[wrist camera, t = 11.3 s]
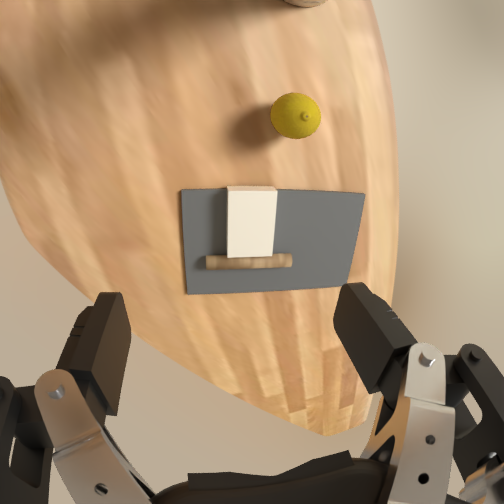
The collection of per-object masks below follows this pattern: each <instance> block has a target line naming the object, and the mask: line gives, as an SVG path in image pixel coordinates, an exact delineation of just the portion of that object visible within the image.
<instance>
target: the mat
mask: <svg viewBox="0 0 504 504" xmlns="http://www.w3.org/2000/svg"><path fill="white" fill-rule="evenodd" d="M276 190H277V191H278V192H277V205H276V218H275V230H274V241H273V253H272V254H278V253H291V255H292V266H291V267H279V268H253V269H224V270H206V256H207V255H227V251H226V212H227V189H182V190H181V193H182V220H183V239H184V255H185V269H186V281H187V293H188V295H189V294H221V293H244V292H264V291H282V290H298V289H312V288H326V287H338V286H343V284H346V283H347V279H348V275H349V271H350V267H351V263H352V259H353V254H354V250H355V245H356V241H357V236H358V231H359V226H360V221H361V216H362V211H363V205H364V199H365V194H364V193H352V192H336V191H317V190H292V189H276Z"/></svg>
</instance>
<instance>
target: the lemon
mask: <svg viewBox="0 0 504 504" xmlns="http://www.w3.org/2000/svg"><path fill="white" fill-rule="evenodd" d="M270 119H271V122H272V125H273V126H274V128H275V129H276V130H277V131H278V132H279V133H280V134H282V135H283V136H285V137H288V138H292V139H300V138H305V137H307V136H310V135H311V134H312V133H314V132H315V131H316V130H317V128H318V127H319V124H320V121H321V113H320V109H319V107H318V105H317V104H316V102H315V101H314V100H312V99H311V98H310V97H308V96H306V95H304V94H300V93H289V94H285V95H283V96H281V97H279V98H278V99H277V100H276V101H275V102H274V104H273V106H272V108H271V112H270Z"/></svg>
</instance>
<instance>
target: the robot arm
mask: <svg viewBox="0 0 504 504" xmlns="http://www.w3.org/2000/svg"><path fill="white" fill-rule="evenodd" d="M284 1H285V2H288V3H290V4H293V5H297V6H302V7H314V6H318V5H320V4H323V3H324V2H326V1H327V0H284ZM333 323H334V329H335V331H336V333H337V335H338V337H339V339H340V340H341V342H342V344H343V346H344V348H345V350H346V351H347V353H348V355H349V357H350V359H351V361H352V363H353V364H354V366H355V368H356V370H357V372H358V374H359V376H360V378H361V380H362V382H363V383H364V385H365V387H366V389H367V391H368V393H369V394H372V393H376V392H379V391H381V392H382V394H383V396H382V397H381V399H380V402H379V406H378V410H377V414H376V418H375V421H374V425H373V428H372V432H371V435H370V439H369V441H368V443H367V445H366V447H365V449H364V450H363V452H362V454H361V456H360V458H351V455H350V453H349V451H348V450H347V451H343V452H340V453H336V454H333V455H329V456H325V457H321V458H317V459H312V460H310V461H308V462H306V463H304V464H302V465H300V466H298V467H295V468H293V469H291V470H289V471H286V472H284V473H282V474H279V475H276V476H261V475H250V474H242V473H234V472H219V473H188V481H186V482H182V483H179V484H176V485H173V486H170V487H168V488H166V489H164V490H163V491H161V492H159V493H157V494H156V493H155V492H154V491H153V490H152V488H151V487H150V486H149V485H148V484H147V483H146V482H145V480H144V479H143V478H142V477H141V476H140V474H139V473H138V472H137V471H136V470H135V468H134V467H133V466H132V465H131V463H130V462H129V461H128V459H127V458H126V456H125V455H124V453H123V452H122V451H121V449H120V448H119V446H118V445H117V443H116V442H115V440H114V439H113V437H112V436H111V434H110V433H109V431H108V430H107V428H106V426H105V425H104V424H105V418H106V415H111V416H117V411H118V405H119V399H120V393H121V387H122V382H123V377H124V371H125V367H126V362H127V357H128V352H129V348H130V343H131V327H130V323H129V319H128V316H127V312H126V308H125V304H124V300H123V296H122V294H121V293H120V292H101V293H99V295H98V297H97V299H96V302H95V304H94V306H88V307H87V308H85V310H84V311H82V312H81V313H80V314H79V315H78V317H77V320H76V322H75V324H74V328H72V331H71V333H70V337H68V339H67V342H66V344H65V347H64V349H63V352H62V354H61V356H60V359H59V361H58V364H57V366H56V369H54V370H50V371H47V372H46V373H44V374H43V375H42V376H41V377H40V378H39V379H38V380H37V382H36V384H35V385H33V386H26V387H18V388H15V387H14V386H13V384H12V383H11V382H10V380H9V379H8V378H6V377H2V376H0V504H48V497H49V482H50V470H51V462H52V457H53V461H54V463H55V466H56V468H57V470H58V472H59V474H60V476H61V478H62V480H63V482H64V484H65V485H66V487H67V489H68V491H69V492H70V495H71V496H72V498H73V500H74V501H75V503H76V504H504V377H503V375H502V374H501V372H500V371H499V370H498V368H497V367H496V366H495V364H494V363H493V362H492V360H491V359H490V358H489V356H488V355H487V354H486V352H485V351H484V350H483V349H482V348H480V347H479V346H477V345H474V344H465V345H463V346H462V348H461V349H460V351H459V353H458V354H457V355H443V354H442V353H441V351H440V350H439V349H437V348H436V347H435V346H433V345H431V344H428V343H418V342H417V341H416V339H415V338H414V337H413V335H412V334H411V333H410V331H409V330H408V329H407V328H406V326H405V325H404V324H403V323H402V321H401V320H400V319H398V316H397V315H396V314H395V313H394V312H392V309H391V308H390V306H389V305H388V304H387V303H386V301H384V300H383V299H381V298H380V297H378V296H377V295H376V294H372V292H371V291H370V290H369V289H368V287H367V286H366V285H365V284H364V283H362V282H359V283H347V284H343V286H342V287H341V290H340V294H339V298H338V302H337V306H336V309H335V313H334V318H333ZM469 391H470V392H471V394H472V395H473V397H474V398H475V400H476V402H477V403H478V405H479V407H480V408H481V410H482V420H481V422H480V423H479V424H478V425H477V424H476V422H475V420H474V418H473V417H472V415H471V413H470V412H469V410H468V408H467V406H466V405H465V403H464V401H463V399H464V397H465V396H466V395H467V394H468V393H469ZM13 437H15V438H16V439H15V444H14V449H13V454H12V460H11V466H10V467H9V456H10V451H11V446H12V441H13ZM53 448H55V451H56V452H55V453H53ZM452 456H453V458H454V460H455V462H456V464H457V467H458V469H459V471H460V473H461V476H462V478H463V480H464V483H465V487H464V488H463V489H461V491H460V492H459V498H460V499H459V498H456V497H453V496H451V495H448V494H447V489H448V484H449V478H450V471H451V464H452Z"/></svg>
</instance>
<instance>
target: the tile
mask: <svg viewBox="0 0 504 504" xmlns="http://www.w3.org/2000/svg"><path fill="white" fill-rule="evenodd" d="M277 192H278V191H277V190H276V189H275V188H274V187H273V186H227V212H226V251H227V257H228V258H233V257H263V256H272V253H273V241H274V230H275V218H276V205H277Z"/></svg>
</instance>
